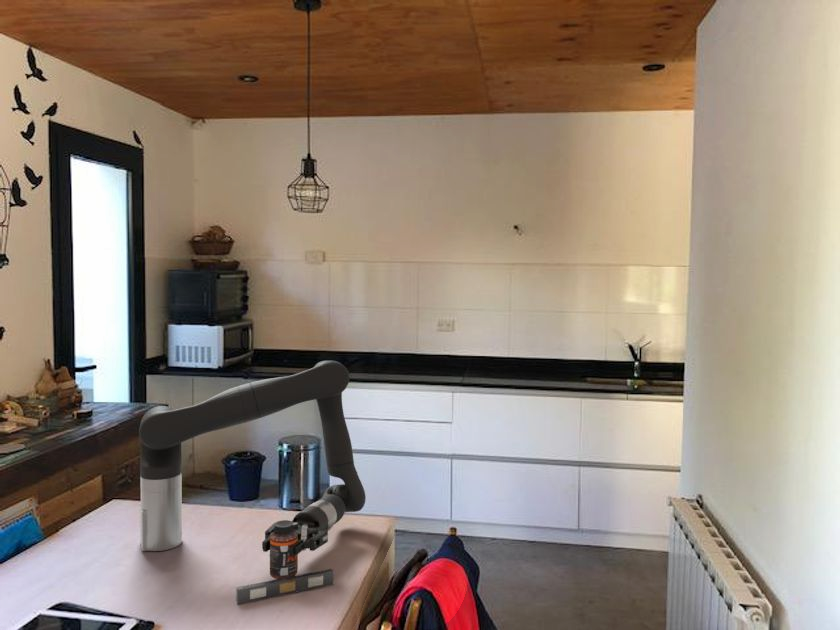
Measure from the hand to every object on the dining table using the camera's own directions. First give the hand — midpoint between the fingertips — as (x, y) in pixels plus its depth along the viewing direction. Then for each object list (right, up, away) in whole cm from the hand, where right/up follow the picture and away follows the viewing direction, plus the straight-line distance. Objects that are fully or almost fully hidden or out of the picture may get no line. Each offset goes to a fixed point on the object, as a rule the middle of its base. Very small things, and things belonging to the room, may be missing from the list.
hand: (277, 549), depth 138 cm
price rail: (+2, -8, -3) cm, 9 cm away
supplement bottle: (+1, -7, +3) cm, 7 cm away
